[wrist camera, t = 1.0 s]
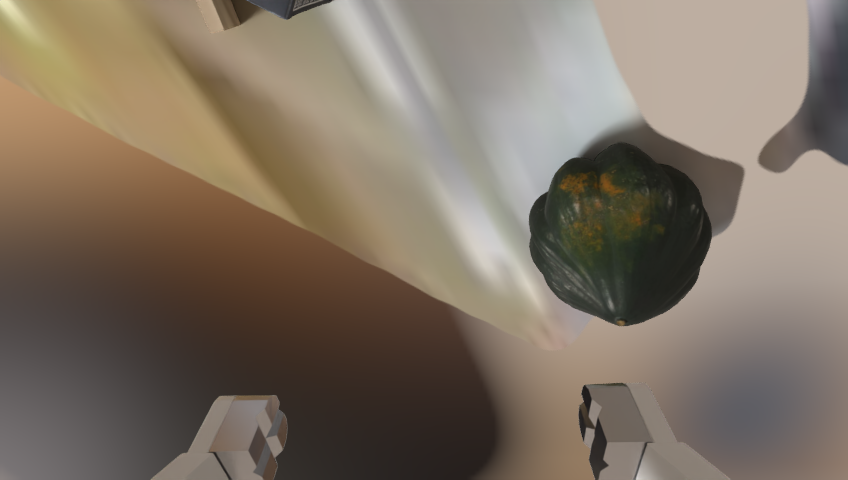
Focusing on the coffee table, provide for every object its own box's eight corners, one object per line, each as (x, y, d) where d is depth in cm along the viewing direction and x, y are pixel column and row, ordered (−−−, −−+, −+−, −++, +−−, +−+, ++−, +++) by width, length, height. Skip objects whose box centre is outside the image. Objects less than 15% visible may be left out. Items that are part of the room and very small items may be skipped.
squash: (733, 114, 32) (648, 245, 25) (737, 261, 40) (672, 389, 33) (562, 121, 42) (471, 215, 36) (592, 236, 50) (521, 330, 44)
